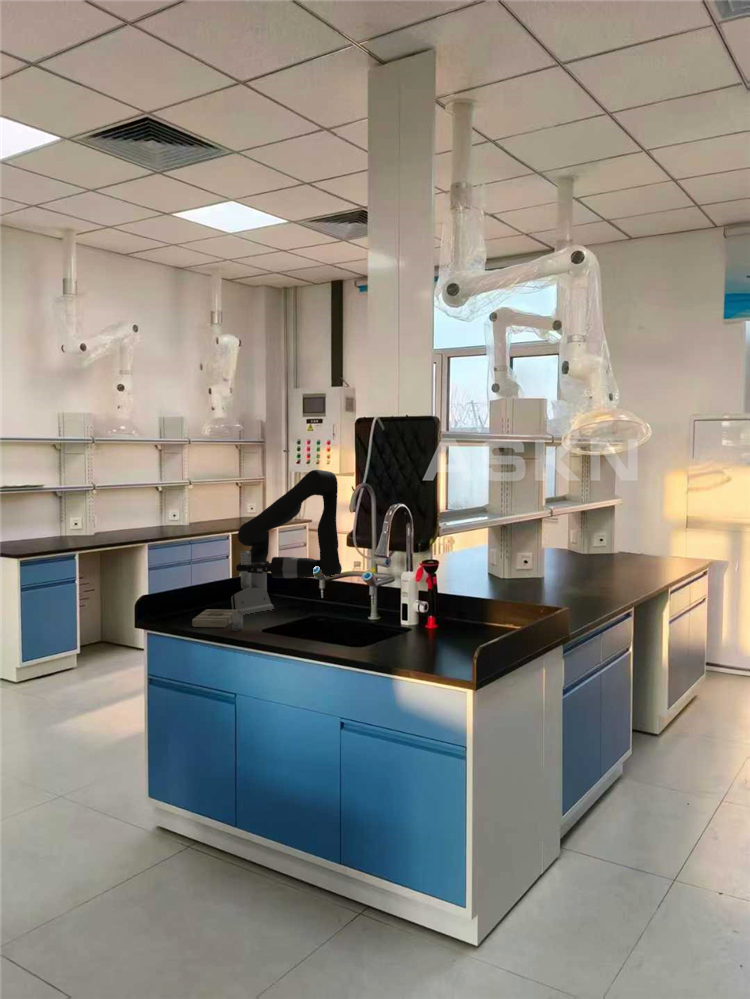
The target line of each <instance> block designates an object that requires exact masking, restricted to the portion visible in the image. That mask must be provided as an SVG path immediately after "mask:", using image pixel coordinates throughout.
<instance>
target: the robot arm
mask: <svg viewBox="0 0 750 999" xmlns="http://www.w3.org/2000/svg"><path fill="white" fill-rule="evenodd" d="M338 486H339V485H338V478H337V476H336V475H335V473H334V472H332V471H328V470H321V469H312V470H310V471H309V472H308V473H306V474H305V475H304V476H303V477H302V478H301V479H300V481H298V482H297V483H296V484H295V485H294V486H293V487H292V488H291V489H289V490H288V491H286V493H284V494H283V495H282V496H280V497H279V498H278V499H277V500H275V501H274V502H272V503H271V504H270V505H269V506H268V507H267V508H265V509H264V510H263V511H262V512H260V513H258V514H257V515H256V516H254V517H253V518H252V519H250V520H248V521H247V522H244V523H243V524H242V525H241V526H240V527H239V529H238V532H237V539H238V542H239V543H240V544H241V545H243V546H247V547H251V548H250V550H249V551H250V552H251V565H249V564H248V565H241V562H239V563H238V564H236V566H235V567H236V571H237V572H241V571H247V572H248V573H251V588H261V589H265V590H266V591H267V590H268V583H267V581H268V578H267V577H268V575H267V574H268V573H269V572H270V575H271V577H272V578H273V579H297V578H315V577H314V575H313V568H314V567H315V566H319V567H320V569H321V570H322V573H323V574H324V575H325V576H326V577H327V576H329V577H333V576H331V575H335V574H340V575H341V574H342V570H343V568H342V564H341V563H340V555H339V539H338V538H339V537H338V536H339V535H338V529H337V510H338V509H337V508H338V488H339V487H338ZM312 496H322V502H323V509H322V514H321V516H320V519H319V522H318V525H317V540H318V547H319V559H314V558H310V557H294V556H273V557H272V558H271V560H270V562H269V561H268V560H267V559H268V556H269V550H270V549H269V546H270V544H269V543H270V531H271V530H273V529H276V528H279V527H281V526H283V525H285V524H287V523H288V522H290V521H292V519H294V518H295V517H297V516H298V514H299V513H301V509H302V504H303V503H304V502H305V501H306V500H307V499H309V498H310V497H312ZM242 590H245V589H242ZM267 592H268V591H267Z"/></svg>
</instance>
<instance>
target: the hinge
mask: <svg viewBox="0 0 750 999" xmlns="http://www.w3.org/2000/svg"><path fill="white" fill-rule="evenodd" d="M230 599H231V600H230V602H231V610H238V612H243V615H244V616H246V615H245V614H249V615H251V614H250V613H254V614H256V613H255V612H260V611H265V612H267V611H266V610H270V611H273V610H272V609H274V610H275V608H274V604H272V602H271V599H270V595H269V594H268V591H266V590H265V589H261V588H249V589H245V590H243V589H241V590H240V591H238V592H236V593H234V594H233V595H232V596H231V598H230ZM260 613H261V612H260Z"/></svg>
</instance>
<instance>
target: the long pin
mask: <svg viewBox="0 0 750 999" xmlns="http://www.w3.org/2000/svg"><path fill="white" fill-rule="evenodd" d="M240 563H241V565H248V564H249V565H251V552H250V550H245V551H244V550H243V551H240ZM240 588H241V590H243V589H249V588H251V573H248V572H247V571H240Z"/></svg>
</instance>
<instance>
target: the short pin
mask: <svg viewBox="0 0 750 999" xmlns="http://www.w3.org/2000/svg"><path fill="white" fill-rule="evenodd" d="M231 624H232V625H231V626H232V631H233V630H234V631H233V632H240V631H239V630H242V631H243V630H244V616H243V612H233V613H232V622H231Z"/></svg>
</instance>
